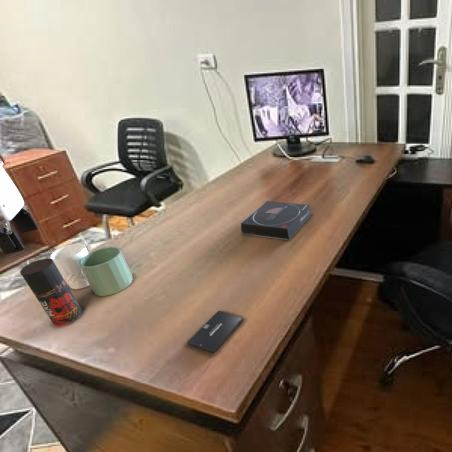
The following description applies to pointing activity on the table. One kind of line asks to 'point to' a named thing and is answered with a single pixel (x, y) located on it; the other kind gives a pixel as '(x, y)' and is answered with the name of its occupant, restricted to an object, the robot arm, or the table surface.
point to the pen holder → (106, 271)
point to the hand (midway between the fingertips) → (23, 240)
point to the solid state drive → (215, 332)
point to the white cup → (71, 264)
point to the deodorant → (51, 291)
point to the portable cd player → (276, 220)
